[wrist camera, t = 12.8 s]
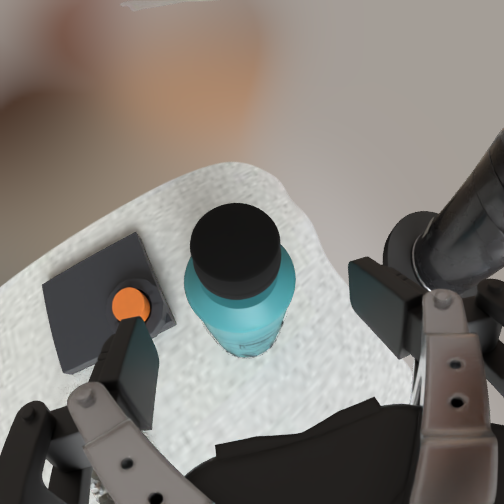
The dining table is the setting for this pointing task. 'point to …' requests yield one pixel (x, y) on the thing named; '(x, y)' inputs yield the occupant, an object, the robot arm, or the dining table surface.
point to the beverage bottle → (239, 278)
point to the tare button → (130, 304)
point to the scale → (100, 301)
